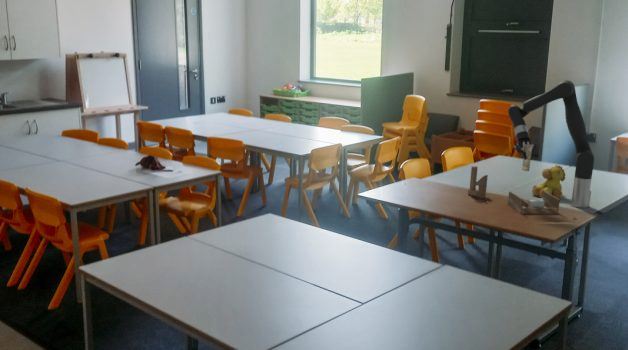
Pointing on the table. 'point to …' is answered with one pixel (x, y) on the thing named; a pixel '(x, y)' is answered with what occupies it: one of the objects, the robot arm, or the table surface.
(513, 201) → the brown wooden tray
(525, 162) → the tan wooden bar
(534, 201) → the grey offcut
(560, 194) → the yellow stuffed toy
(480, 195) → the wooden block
